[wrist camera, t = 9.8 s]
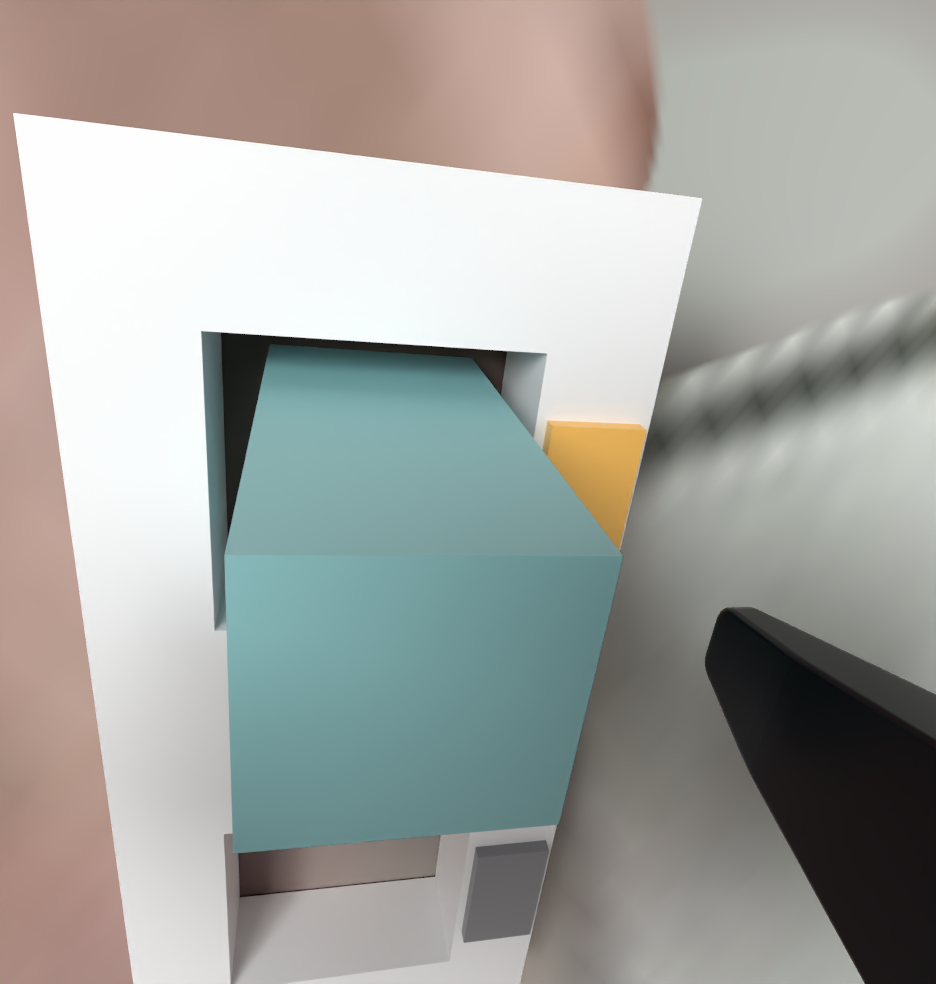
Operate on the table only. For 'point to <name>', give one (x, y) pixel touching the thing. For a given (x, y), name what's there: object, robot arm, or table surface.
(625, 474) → the socket plate
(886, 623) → the table surface
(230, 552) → the peg
